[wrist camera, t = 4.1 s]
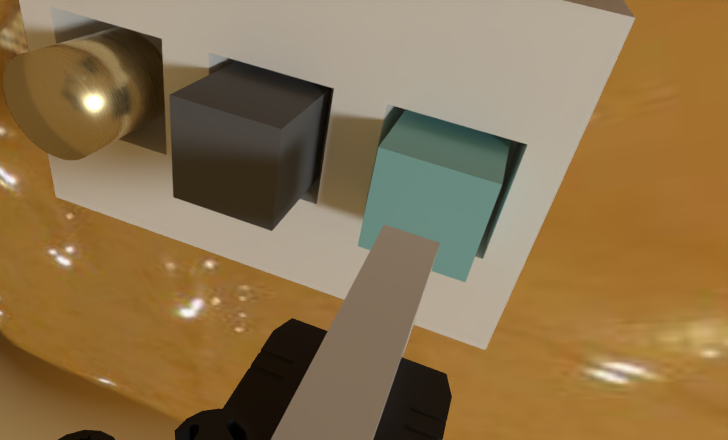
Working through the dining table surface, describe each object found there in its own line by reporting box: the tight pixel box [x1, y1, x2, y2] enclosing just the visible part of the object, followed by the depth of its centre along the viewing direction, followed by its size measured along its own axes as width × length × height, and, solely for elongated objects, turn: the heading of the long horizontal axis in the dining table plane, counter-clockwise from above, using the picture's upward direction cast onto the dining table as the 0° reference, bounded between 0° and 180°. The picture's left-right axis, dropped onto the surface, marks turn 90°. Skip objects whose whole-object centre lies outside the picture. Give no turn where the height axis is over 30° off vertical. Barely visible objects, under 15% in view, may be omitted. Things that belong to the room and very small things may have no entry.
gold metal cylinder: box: [3, 27, 165, 160], centre depth 21 cm, size 4×4×4 cm
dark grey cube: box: [169, 61, 332, 231], centre depth 20 cm, size 4×4×4 cm
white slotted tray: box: [19, 0, 635, 350], centre depth 22 cm, size 14×22×5 cm, turn 79°
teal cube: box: [358, 110, 511, 282], centre depth 19 cm, size 4×4×4 cm
